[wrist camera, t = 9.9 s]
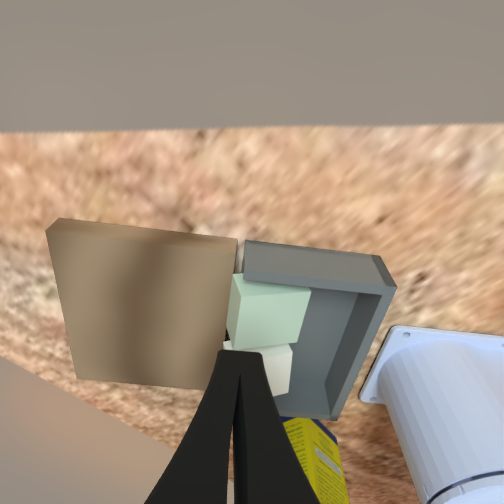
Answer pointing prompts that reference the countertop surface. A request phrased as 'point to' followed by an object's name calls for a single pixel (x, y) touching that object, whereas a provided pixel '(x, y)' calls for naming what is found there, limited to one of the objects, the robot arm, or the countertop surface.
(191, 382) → the tan flat slab
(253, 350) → the cream tile
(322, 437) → the supplement box
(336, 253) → the tray
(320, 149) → the countertop surface
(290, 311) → the sage tile
